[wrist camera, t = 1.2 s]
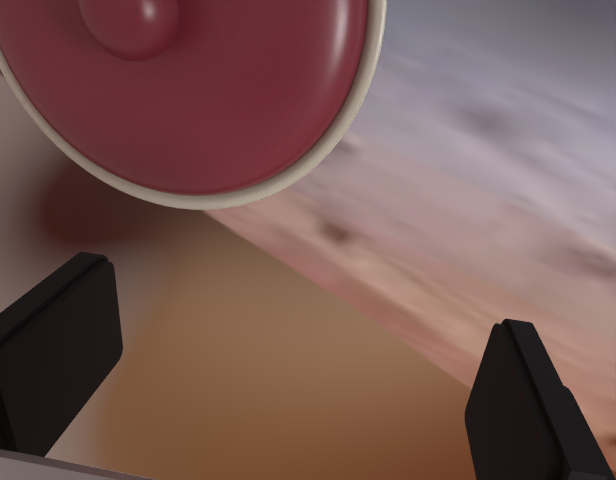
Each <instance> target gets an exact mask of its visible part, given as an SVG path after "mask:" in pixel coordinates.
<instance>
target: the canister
mask: <svg viewBox="0 0 616 480" xmlns="http://www.w3.org/2000/svg"><path fill="white" fill-rule="evenodd" d="M386 12H387V0H0V70H1V72H2V73H3V75H4V77H5V79H6V81H7V82H8V84H9V86H10V87H11V89H12V91H13V92H14V94H15V95H16V97H17V98H18V100H19V101H20V103H21V104H22V106H23V107H24V109H25V110H26V111H27V113H28V114H29V115H30V117H31V118H32V119H33V120H34V122H35V123H36V124H37V125H38V126H39V128H40V129H41V130H42V131H43V132H44V133H45V134H46V135H47V136H48V137H49V138H50V140H51V141H52V142H53V143H54V144H55V145H56V146H57V147H59V148H60V149H61V150H62V151H63V152H64V153H65V154H66V155H67V156H69V157H70V158H71V159H72V160H74V161H75V162H76V163H77V164H78V165H80V166H81V167H82V168H84V169H85V170H87V171H88V172H89V173H91V174H92V175H94V176H95V177H97V178H99V179H100V180H102V181H104V182H105V183H107V184H109V185H111V186H113V187H115V188H117V189H119V190H121V191H123V192H125V193H127V194H130V195H132V196H134V197H137V198H140V199H143V200H146V201H149V202H152V203H156V204H160V205H164V206H169V207H175V208H183V209H193V210H213V209H224V208H231V207H236V206H241V205H245V204H249V203H252V202H255V201H258V200H261V199H264V198H266V197H269V196H271V195H273V194H275V193H277V192H279V191H281V190H283V189H285V188H287V187H288V186H290V185H292V184H293V183H295V182H296V181H298V180H299V179H301V178H302V177H303V176H305V175H306V174H307V173H308V172H310V171H311V170H312V169H313V168H314V167H316V166H317V165H318V164H319V163H320V162H321V161H322V160H323V159H324V158H325V157H326V156H327V155H328V154H329V153H330V152H331V150H332V149H333V148H334V147H335V146H336V145H337V143H338V142H339V141H340V139H341V138H342V137H343V135H344V134H345V133H346V131H347V130H348V128H349V127H350V125H351V123H352V122H353V120H354V118H355V117H356V115H357V113H358V111H359V109H360V107H361V105H362V103H363V101H364V99H365V97H366V95H367V92H368V90H369V87H370V85H371V82H372V79H373V76H374V73H375V70H376V67H377V63H378V60H379V56H380V52H381V47H382V42H383V36H384V30H385V22H386Z"/></svg>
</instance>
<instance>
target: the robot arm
mask: <svg viewBox="0 0 616 480" xmlns="http://www.w3.org/2000/svg"><path fill="white" fill-rule="evenodd" d="M122 350H123V345H122V334H121V326H120V317H119V307H118V299H117V290H116V280H115V272H114V265H113V264H112V263H111V262H108V259H107V257H106V256H104V255H100V254H93V253H87V252H80V253H78V254H77V255H75V256H74V257H73V258H71V259H70V260H69V261H67V262H66V263H65V264H64V265H62V266H61V267H60V268H58V269H57V270H56V271H54V272H53V273H52V274H51V275H49V276H48V277H47V278H45V279H44V280H43V281H42V282H40V283H39V284H37V285H36V286H35V287H34V288H32V289H31V290H30V291H28V292H27V293H26V294H24V295H23V296H22V297H21V298H19V299H18V300H17V301H16V302H14V303H13V304H11V305H10V306H9V307H8V308H6V309H5V310H4V311H2V312H1V313H0V480H156V479H151V478H146V477H142V476H136V475H131V474H126V473H121V472H116V471H111V470H106V469H101V468H96V467H90V466H86V465H81V464H75V463H70V462H65V461H60V460H54V459H50V458H45V455H46V454H47V453H48V452H49V450H50V449H51V448H52V446H53V445H54V444H55V442H56V441H57V440H58V439H59V437H60V436H61V435H62V434H63V432H64V431H65V430H66V428H67V427H68V426H69V424H70V423H71V422H72V420H73V419H74V418H75V417H76V415H77V414H78V412H80V410H81V409H82V408H83V406H84V405H85V404H86V403H87V401H88V400H89V399H90V397H91V396H92V395H93V393H94V392H95V391H96V389H97V388H98V387H99V386H100V384H101V383H102V382H103V381H104V379H105V378H106V376H107V375H108V374H109V373H110V372H111V370H112V369H113V368H114V366H115V365H116V364H117V362H118V361H119V359H120V357H121V355H122ZM465 425H466V430H467V435H468V440H469V445H470V450H471V455H472V460H473V464H474V470H475V474H476V479H477V480H616V479H615V477H614V475H613V473H612V471H611V469H610V467H609V465H608V463H607V461H606V459H605V457H604V455H603V453H602V451H601V450H600V448H599V446H598V444H597V442H596V440H595V438H594V436H593V434H592V432H591V430H590V428H589V426H588V424H587V422H586V420H585V418H584V416H583V414H582V412H581V410H580V408H579V406H578V404H577V402H576V400H575V398H574V396H573V394H572V393H571V391H570V390H569V388H567V387H565V386H563V384H562V382H561V380H560V378H559V376H558V374H557V372H556V370H555V368H554V366H553V364H552V362H551V359H550V357H549V355H548V353H547V351H546V349H545V347H544V345H543V343H542V341H541V339H540V337H539V335H538V333H537V331H536V329H535V327H534V325H533V324H532V323H530V322H524V321H518V320H512V319H504V320H503V322H502V323H501V324H497V323H496V324H494V326H493V328H492V331H491V334H490V337H489V340H488V343H487V346H486V349H485V352H484V355H483V358H482V361H481V364H480V367H479V370H478V373H477V376H476V379H475V382H474V385H473V388H472V391H471V394H470V397H469V400H468V403H467V406H466V410H465Z"/></svg>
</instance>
